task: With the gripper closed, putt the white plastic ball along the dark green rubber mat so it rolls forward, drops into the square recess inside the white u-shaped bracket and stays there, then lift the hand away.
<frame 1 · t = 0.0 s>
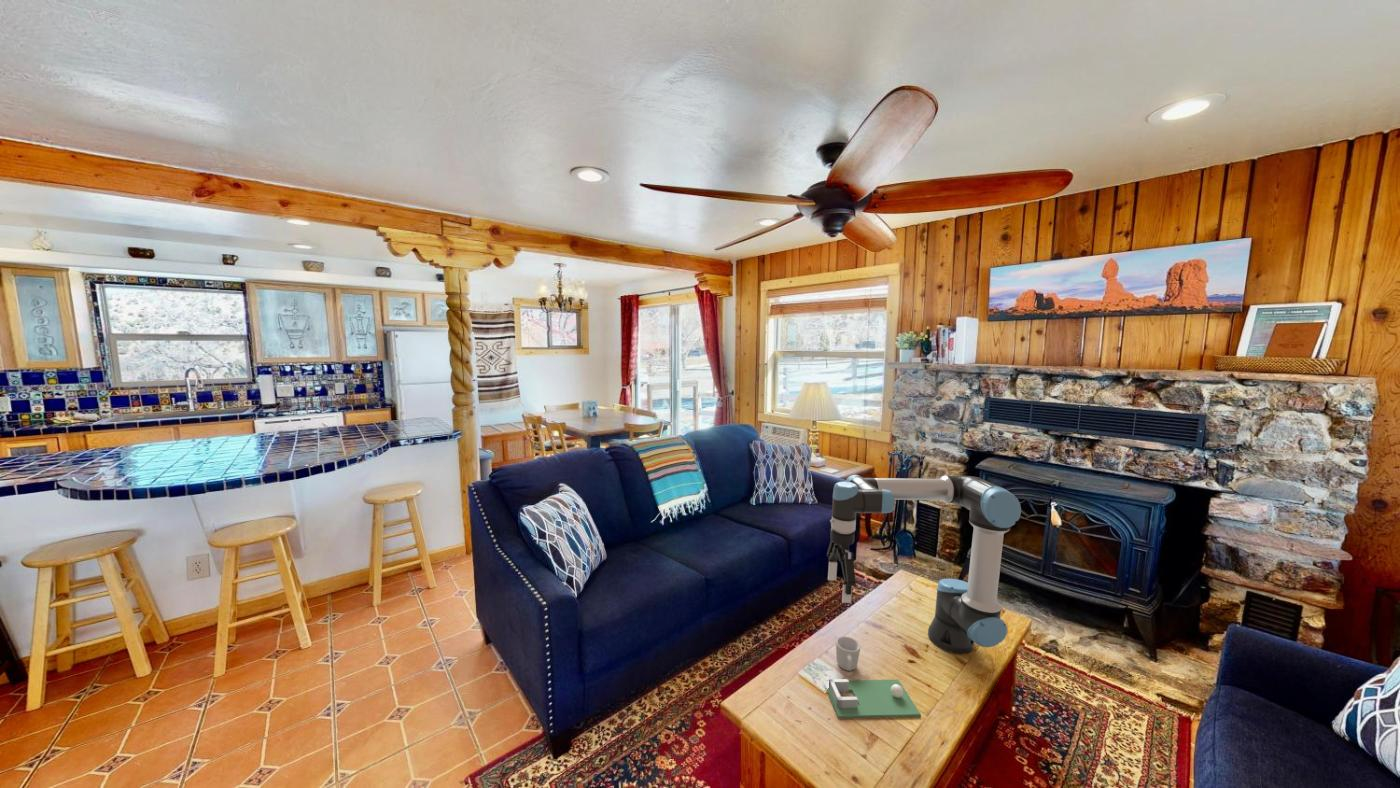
hand: (838, 590, 152), 28 cm above the table, fingers open, 13 cm apart
green mat: (869, 699, 143), on the table
cup: (847, 668, 156), on the table
white u-shaped bracket: (846, 699, 142), resting in green mat
ball: (897, 690, 143), point 3 cm above the table, touching green mat
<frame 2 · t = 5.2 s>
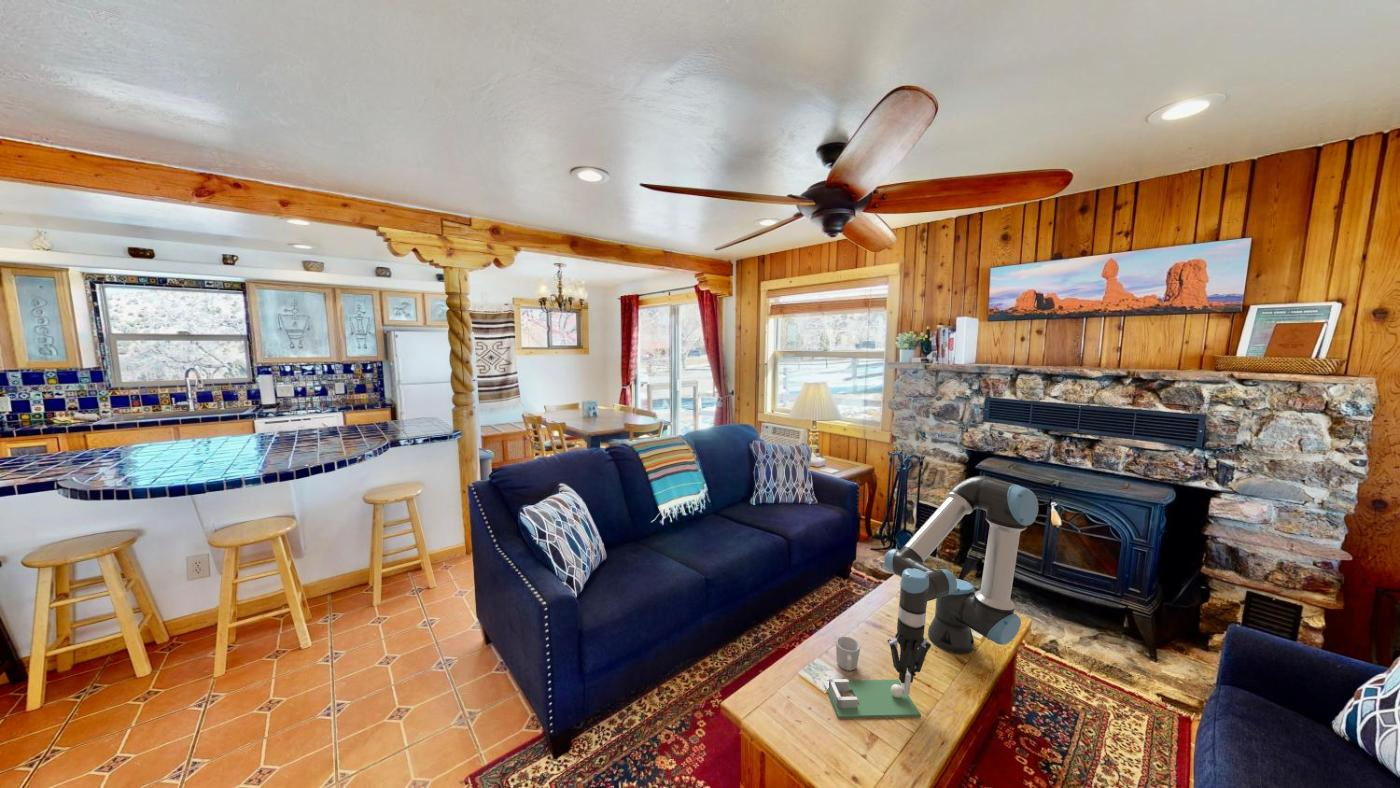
hand: (904, 691, 143), 3 cm above the table, fingers closed
ball: (896, 690, 143), point 3 cm above the table, touching green mat, gripper
everything else where it was.
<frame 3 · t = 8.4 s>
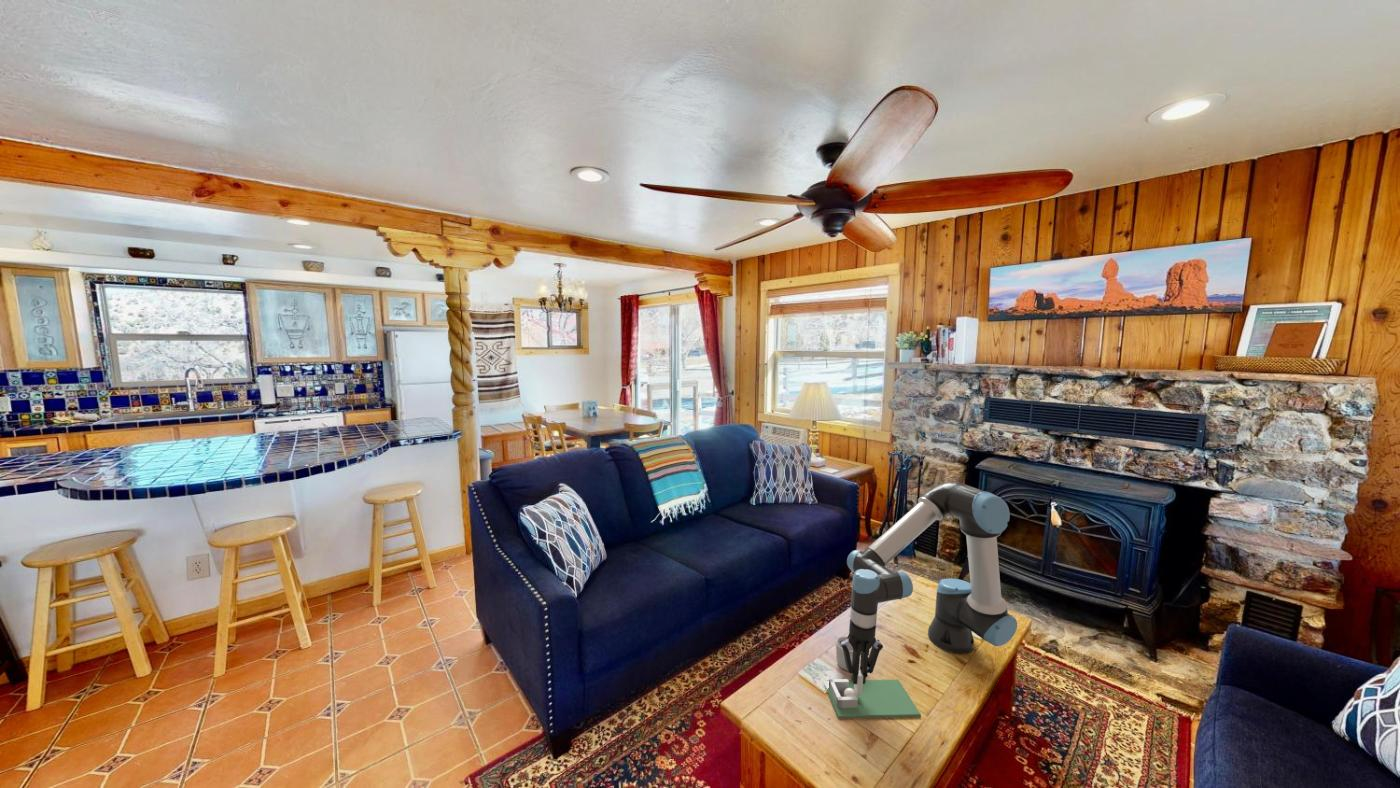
hand: (857, 692, 142), 2 cm above the table, fingers closed
ball: (850, 694, 142), point 2 cm above the table, tilted 129°, touching gripper
everything else where it was.
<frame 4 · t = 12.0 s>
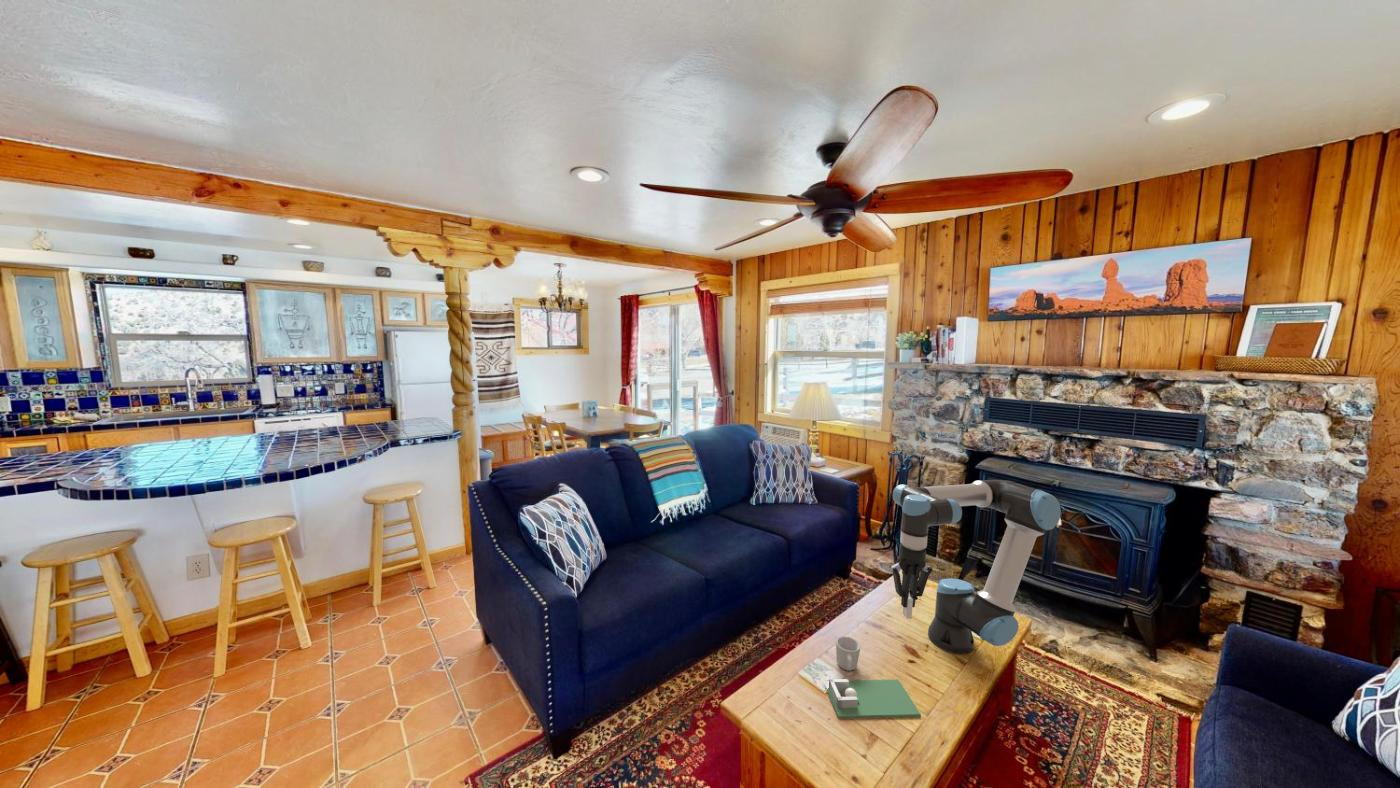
hand: (907, 615, 145), 24 cm above the table, fingers closed
ball: (850, 694, 142), point 2 cm above the table, tilted 119°
everything else where it was.
at the end: ball 1.3 cm off-centre on the white u-shaped bracket, point 1.8 cm above the white u-shaped bracket's base; ball touching table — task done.
